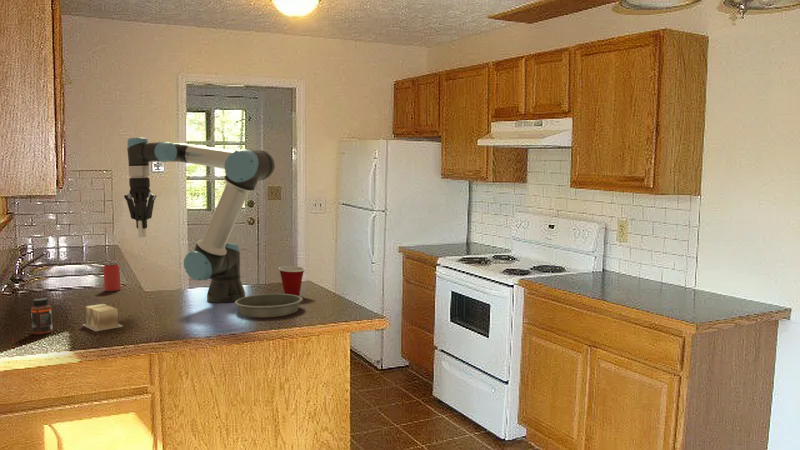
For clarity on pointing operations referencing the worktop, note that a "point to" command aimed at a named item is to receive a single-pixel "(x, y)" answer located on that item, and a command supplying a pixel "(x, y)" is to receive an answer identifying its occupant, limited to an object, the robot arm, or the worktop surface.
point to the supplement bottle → (41, 317)
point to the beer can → (111, 277)
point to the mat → (97, 328)
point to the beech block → (101, 316)
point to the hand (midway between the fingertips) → (142, 236)
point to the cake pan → (259, 308)
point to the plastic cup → (291, 279)
